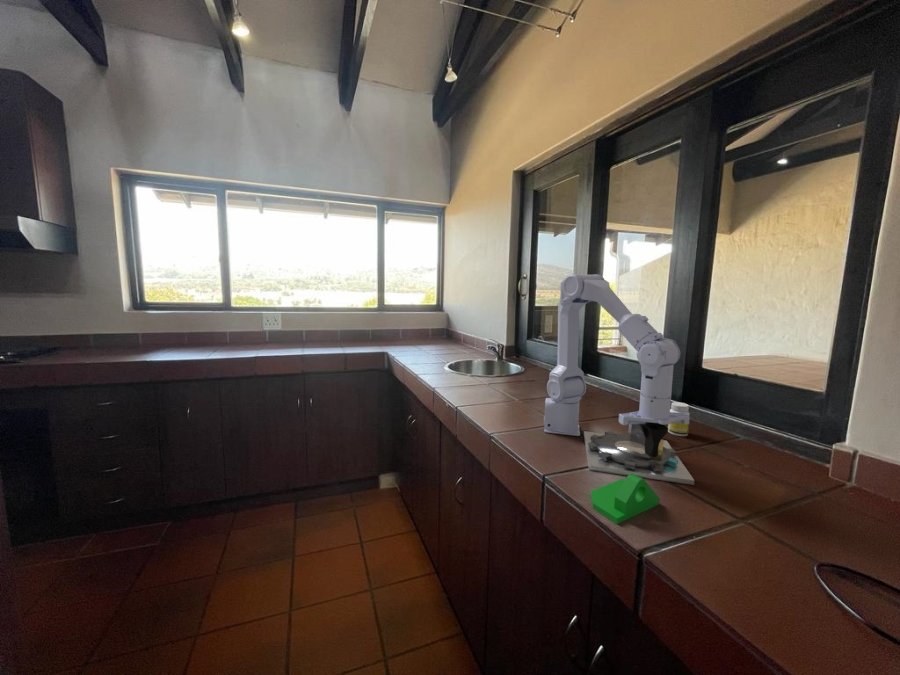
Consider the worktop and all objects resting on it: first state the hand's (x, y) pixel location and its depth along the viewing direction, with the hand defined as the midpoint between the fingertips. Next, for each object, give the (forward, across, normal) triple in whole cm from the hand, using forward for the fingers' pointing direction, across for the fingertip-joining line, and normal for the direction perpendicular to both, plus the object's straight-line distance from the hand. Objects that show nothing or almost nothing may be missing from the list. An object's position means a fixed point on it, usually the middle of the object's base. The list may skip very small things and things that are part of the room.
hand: (651, 454), depth 76 cm
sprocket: (+2, -1, +6) cm, 7 cm away
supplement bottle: (+3, +20, +19) cm, 28 cm away
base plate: (+3, -1, +6) cm, 7 cm away
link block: (+3, +8, +17) cm, 20 cm away
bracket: (+4, -13, -12) cm, 18 cm away
